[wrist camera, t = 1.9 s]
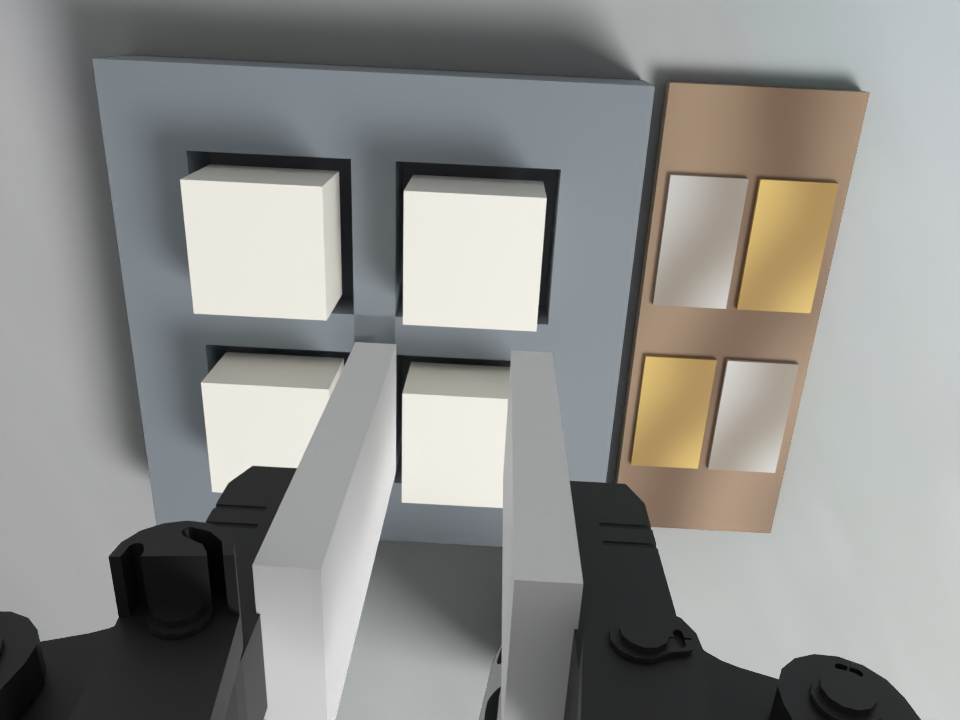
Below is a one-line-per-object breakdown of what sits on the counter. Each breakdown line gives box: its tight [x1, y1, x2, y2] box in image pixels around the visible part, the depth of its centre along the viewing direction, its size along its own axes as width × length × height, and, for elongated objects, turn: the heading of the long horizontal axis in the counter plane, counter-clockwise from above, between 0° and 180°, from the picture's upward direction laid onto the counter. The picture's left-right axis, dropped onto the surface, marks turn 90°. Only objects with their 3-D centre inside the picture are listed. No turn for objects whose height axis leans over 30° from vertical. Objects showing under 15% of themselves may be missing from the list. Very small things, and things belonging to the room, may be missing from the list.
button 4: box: [201, 352, 344, 493], centre depth 28 cm, size 4×4×3 cm
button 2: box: [402, 362, 510, 508], centre depth 28 cm, size 4×4×3 cm
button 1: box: [403, 175, 547, 332], centre depth 26 cm, size 4×4×3 cm
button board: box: [92, 55, 655, 547], centre depth 29 cm, size 17×17×2 cm
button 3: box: [180, 164, 342, 321], centre depth 26 cm, size 4×4×3 cm
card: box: [615, 81, 870, 533], centre depth 29 cm, size 6×17×1 cm, turn 178°
